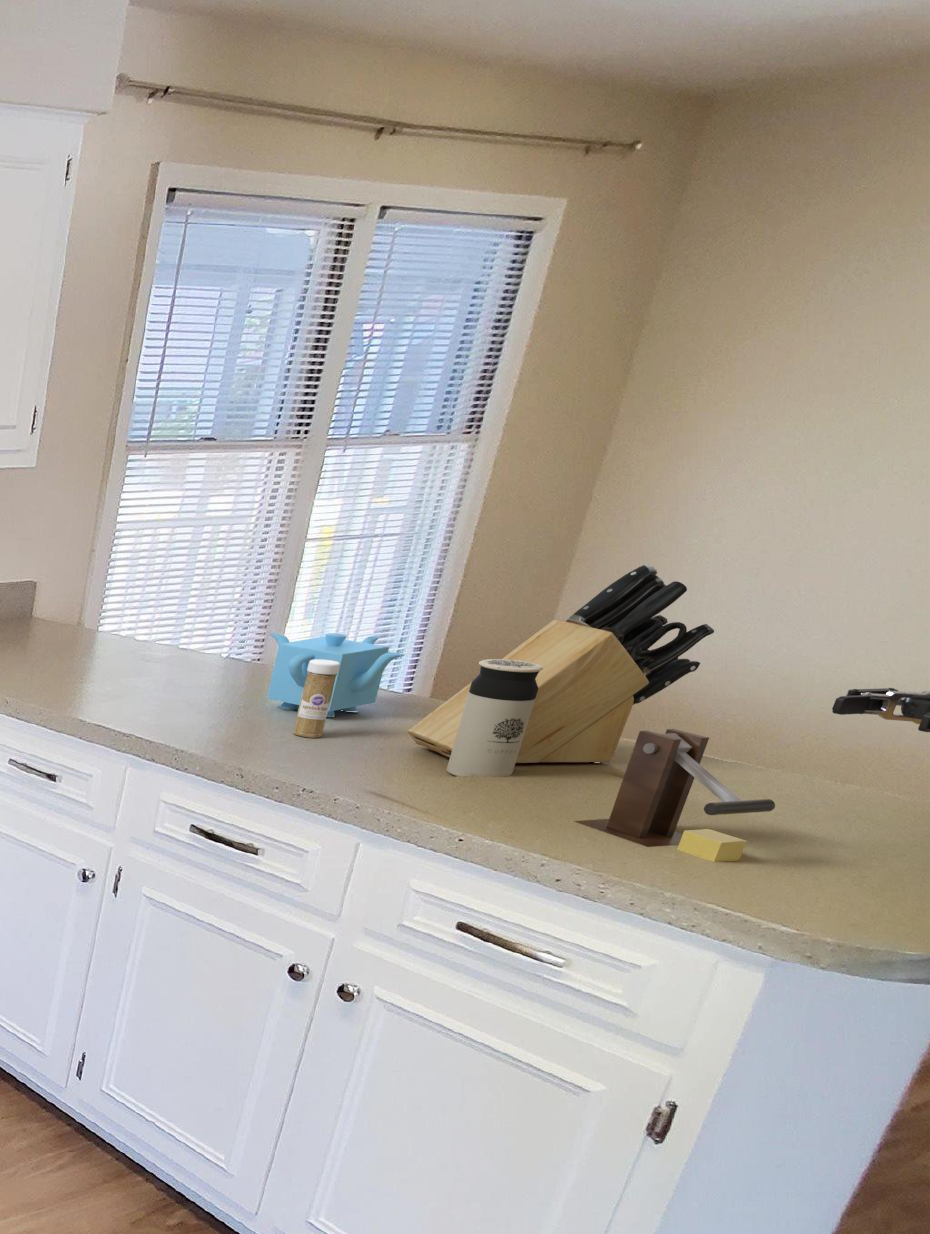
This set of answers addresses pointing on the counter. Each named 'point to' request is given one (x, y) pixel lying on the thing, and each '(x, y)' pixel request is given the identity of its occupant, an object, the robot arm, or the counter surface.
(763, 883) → the counter surface
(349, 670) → the teakettle
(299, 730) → the sprinkles bottle
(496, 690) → the travel mug
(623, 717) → the knife block
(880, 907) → the counter surface
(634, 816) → the stand
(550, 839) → the counter surface
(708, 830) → the butter
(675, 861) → the counter surface
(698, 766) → the lever
